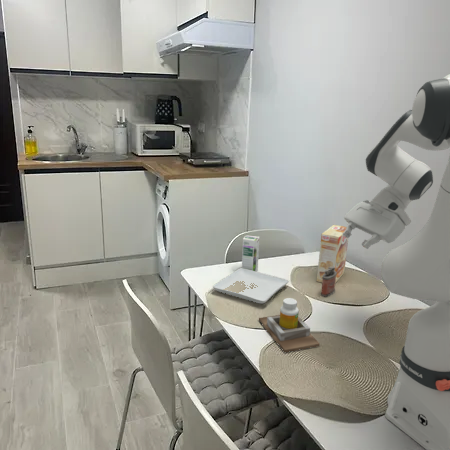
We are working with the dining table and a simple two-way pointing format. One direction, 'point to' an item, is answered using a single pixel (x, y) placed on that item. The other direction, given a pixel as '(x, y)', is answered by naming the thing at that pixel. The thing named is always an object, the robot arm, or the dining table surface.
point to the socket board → (289, 334)
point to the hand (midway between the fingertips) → (354, 241)
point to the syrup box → (250, 253)
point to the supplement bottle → (289, 314)
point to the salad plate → (259, 294)
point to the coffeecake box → (332, 251)
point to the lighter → (328, 282)
